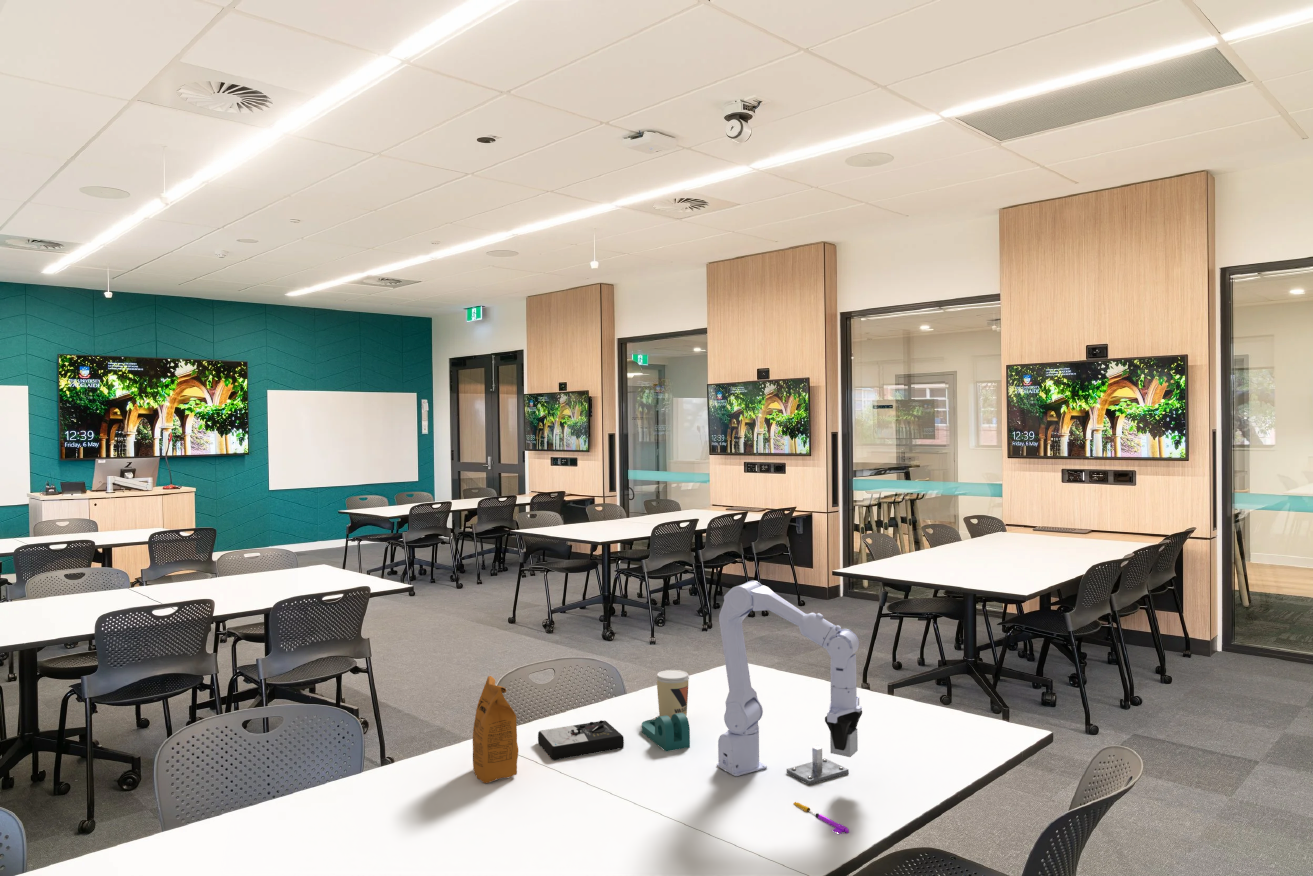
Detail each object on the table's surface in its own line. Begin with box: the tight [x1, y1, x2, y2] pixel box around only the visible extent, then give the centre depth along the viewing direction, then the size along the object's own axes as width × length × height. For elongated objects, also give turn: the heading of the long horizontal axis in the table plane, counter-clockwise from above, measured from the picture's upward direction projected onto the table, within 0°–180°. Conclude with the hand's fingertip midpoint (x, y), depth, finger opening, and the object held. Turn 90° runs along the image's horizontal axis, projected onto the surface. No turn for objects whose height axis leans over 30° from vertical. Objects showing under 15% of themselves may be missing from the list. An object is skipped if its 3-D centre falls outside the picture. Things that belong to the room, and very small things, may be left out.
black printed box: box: [537, 719, 625, 761], centre depth 217 cm, size 13×19×5 cm
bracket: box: [641, 713, 691, 752], centre depth 221 cm, size 18×7×8 cm, turn 24°
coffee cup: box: [655, 669, 690, 719], centre depth 238 cm, size 9×9×12 cm
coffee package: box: [472, 675, 519, 784], centre depth 199 cm, size 10×12×22 cm
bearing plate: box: [786, 745, 850, 786], centre depth 197 cm, size 12×8×6 cm, turn 121°
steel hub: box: [829, 727, 859, 758], centre depth 189 cm, size 5×5×5 cm
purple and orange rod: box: [793, 801, 850, 834], centre depth 174 cm, size 3×1×16 cm
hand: (843, 745), depth 189 cm, fingers closed on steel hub, 5 cm apart
